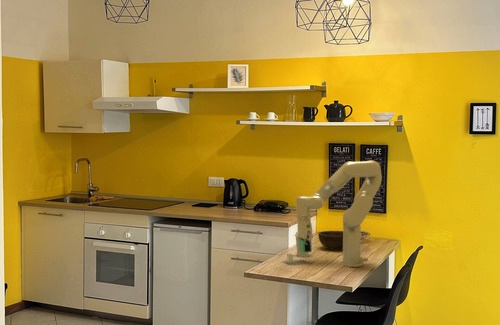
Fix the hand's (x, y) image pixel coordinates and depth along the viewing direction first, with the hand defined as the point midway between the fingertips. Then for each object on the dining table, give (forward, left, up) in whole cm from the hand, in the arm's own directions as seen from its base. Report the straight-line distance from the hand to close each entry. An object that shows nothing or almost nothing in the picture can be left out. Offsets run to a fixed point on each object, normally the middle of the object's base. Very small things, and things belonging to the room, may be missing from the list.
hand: (305, 250), depth 327 cm
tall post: (+9, -1, -7) cm, 11 cm away
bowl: (-38, -33, -8) cm, 51 cm away
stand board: (+5, -1, -8) cm, 9 cm away
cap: (0, 0, -1) cm, 1 cm away
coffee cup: (-7, -17, -8) cm, 20 cm away
